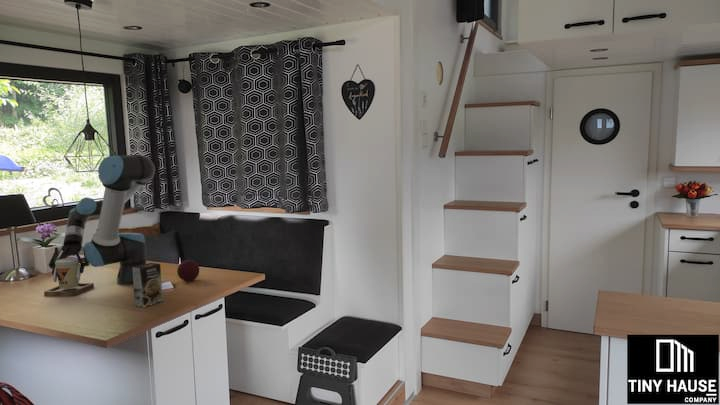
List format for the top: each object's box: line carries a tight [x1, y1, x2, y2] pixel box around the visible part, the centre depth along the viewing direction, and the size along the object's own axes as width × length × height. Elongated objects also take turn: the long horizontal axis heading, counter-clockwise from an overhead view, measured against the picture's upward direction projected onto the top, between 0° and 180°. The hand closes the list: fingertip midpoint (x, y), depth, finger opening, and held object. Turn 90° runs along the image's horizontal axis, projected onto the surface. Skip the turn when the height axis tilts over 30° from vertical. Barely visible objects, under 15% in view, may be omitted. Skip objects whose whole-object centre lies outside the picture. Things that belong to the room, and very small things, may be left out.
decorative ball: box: [176, 259, 200, 282], centre depth 253 cm, size 10×10×10 cm
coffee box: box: [132, 262, 164, 308], centre depth 218 cm, size 9×6×16 cm
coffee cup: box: [55, 257, 80, 289], centre depth 239 cm, size 9×9×12 cm
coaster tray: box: [43, 282, 95, 297], centre depth 240 cm, size 14×14×2 cm
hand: (66, 279), depth 236 cm, fingers closed on coffee cup, 9 cm apart
